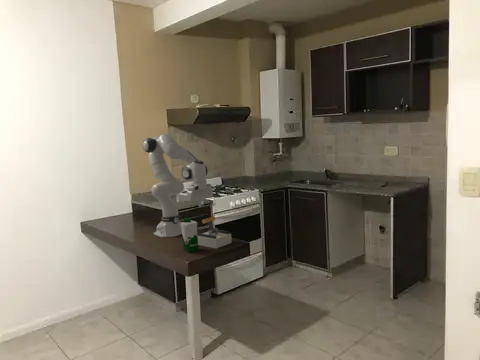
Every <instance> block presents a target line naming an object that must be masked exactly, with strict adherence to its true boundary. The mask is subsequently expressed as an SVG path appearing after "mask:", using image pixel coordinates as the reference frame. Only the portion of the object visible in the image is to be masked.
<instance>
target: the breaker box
mask: <svg viewBox="0 0 480 360" xmlns="http://www.w3.org/2000/svg"><path fill="white" fill-rule="evenodd" d="M214 230H216V233H214V234H212V230H210V229H208V230H207V231H206V232H203V233H202V234H207V235H213V236H216V239H213V238H208V237H202V236H198V245H199V246H203V247H206V248H207V247H208V248H211V249H215V250H216V249H218V248H219V249H220V248H221V247H224V246H228V245H230V244H232V242H233V240H232V239H233V238H232V233H230V234H224V233H218V230H219V229H218V228H217V227H214Z"/></svg>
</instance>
